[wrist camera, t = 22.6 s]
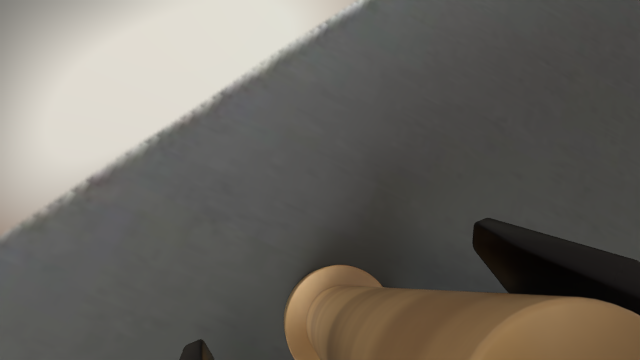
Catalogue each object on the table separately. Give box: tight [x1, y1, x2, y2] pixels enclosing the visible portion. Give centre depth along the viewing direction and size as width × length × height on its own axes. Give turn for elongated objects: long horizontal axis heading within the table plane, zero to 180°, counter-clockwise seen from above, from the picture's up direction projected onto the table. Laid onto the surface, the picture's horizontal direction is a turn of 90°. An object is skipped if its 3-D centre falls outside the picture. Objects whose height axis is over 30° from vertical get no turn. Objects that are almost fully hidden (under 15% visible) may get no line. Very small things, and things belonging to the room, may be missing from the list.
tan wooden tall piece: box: [284, 265, 640, 360], centre depth 9 cm, size 4×4×13 cm
